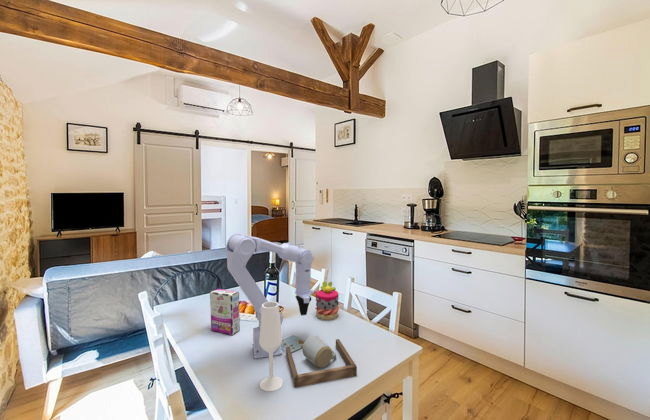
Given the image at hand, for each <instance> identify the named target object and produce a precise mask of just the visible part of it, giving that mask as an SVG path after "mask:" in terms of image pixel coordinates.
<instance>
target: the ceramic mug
mask: <svg viewBox="0 0 650 420" xmlns="http://www.w3.org/2000/svg"><path fill="white" fill-rule="evenodd" d="M301 351H302V354H303V356H304V357H305V358H306V359H307V360H308V361H309V362H311V363H312V364H313V365H314V366H315V367H318V368H325V367H326V366H328V365H329V363H330V362H331V361H333V360H335V359H336V357H337V353H336V352H335V351H334V350H332V348H331V347H330V345H329V344H327V343H326V342H325V341H324V340H323V339H322V338H321V337H319V336H318V335H311V336H309V337H307V339H306V340H305V341H304V343H303V345H302V350H301Z"/></svg>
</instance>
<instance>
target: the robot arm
mask: <svg viewBox="0 0 650 420" xmlns="http://www.w3.org/2000/svg"><path fill="white" fill-rule="evenodd" d="M261 250H262V251H266V252H270V253H275V254H277V256H278V257H279V258H280V259H283V260H286V261H289V262H293V263H295V292H294V293H295V299H296V301H297V304H298V307H299V308H298V309H299V314H300V316H307V314H308V311H309V310H308V309H309V305H310V303H311V301H312V296H311V295H312V294H313V293H314V292H315V291H314V289H311V286H312V283H311V281H312V279H311V277H312V275H311V273H312V272H311V271H312V270H311V269H312V264H313V261H314V259H315V257H314V255H313V253H312V251H311V250H310V249H309V250H308V249H305V248H303V247H302V246H300V245H299V246H296V245H293V243H292V242H289V241H288V242H283V243H282V244H277V243H275V242H271V241H270V240H266V239H263V238H260V237H256V236H251V235H246V234H245V235H242V234H241V233H236V234H235V233H234V234H233V235H230V237H229V238H228V240H227V243H226V244H225V251H226V266H227V270H228V272H229V273H230V275H231V276H232V277H233V279H234V281H235V282H236V284H238V287H240V289H241V291H242V292H243V293H244V295H245V296H246V299H248V301H249V302H250V304H251V305H252V307H253V308H252V309H253V310H254V311H255V318H256V320H257V321H258V326H256V327H253V329H252V336H253V337H252V339H253V343H252V345H251V346H252V350H253V359H260V358H267V357H268V358H269V353H268V352H266V351H265V350H263V349H262V347H261V346H260V344H259V339H260V326H261V314H262V304H264V303H266V302H269V301H268V299H267V298H266V296H265V295H264V294H263V292H262V290H261V289H260V287H259V286H258V284H257V283H256V281H255V279H254V278H253V277H252V275H251V274H250V272H249V270H248V269H247V263H248V262H249V261H250V258H251V257H252V256H253V254H254V253H258V252H259V251H261ZM279 313H280V322H281V325H282V324H283V321H284V317H283V315H282V313H281V312H280V311H279ZM282 353H283V351H282V347H281V346H280V347H279V348H278V349H277V350H276V351H275V352H273V357H274V356H282V355H283V354H282Z"/></svg>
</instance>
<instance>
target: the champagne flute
mask: <svg viewBox="0 0 650 420" xmlns="http://www.w3.org/2000/svg"><path fill="white" fill-rule="evenodd" d="M279 305H280V304H279V302H277V301H268V302H266V303H264V304H262V314H261V326H260V339H259V344H260V346H261V347H262V349H263V350H265V351H266V352H268V353H269V357H268V364H269V365H268V368H269V369H268V370H269V371H268V373H269V376H268V377H265V378H263V379H262V380H261V381H260V382H259V387H260V389H261V390H263V391H265V392H273V391H274V392H275V391H276V390H278V389H280V388H281V387H282V386H283V383H284V382H283V379H282V378H281V377H279V376H277V375H276V376H275V375H274V356H273V352H275V351H276V350H277V349H278V348H279V347H281V345H282V344H283V333H282V324H281V322H280V313H281V312H280V306H279ZM279 312H280V313H279Z"/></svg>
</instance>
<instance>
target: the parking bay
mask: <svg viewBox="0 0 650 420" xmlns="http://www.w3.org/2000/svg"><path fill="white" fill-rule="evenodd" d="M335 348H336V351H337V352H338V354H339V356H340V357H341V359H342V361H343V362H344V364H345V365H344V366H339V367H333V368H327V369H323V370H322V369H320V370H316V371H315V370H314V371H310V372H305V373H304V372H303V373H299V374H298V370H297V367H296V363H295V360H294V358H293V354H292V353H293V352H292V351H291V348H290V346H285V355H286V356H285V357H286V360H287V364H288V368H289V372H290V375H291V381H292V383H293V387H294V388H300V387H305V386H309V385H316V384H320V383H321V384H322V383H327V382H331V381H337V380H341V379H347V378H352V377H353V378H354V377H357V375H358V373H357V372H358V370H357V369H358V366H357V365H356V363H355V361H354V360H353V358H352V357H351V355H350V354H349V352H348V351H347V349H346V348H345V346H344V345H343V343H342V342H341V340H340V339H339V338H337V339H335Z"/></svg>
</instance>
